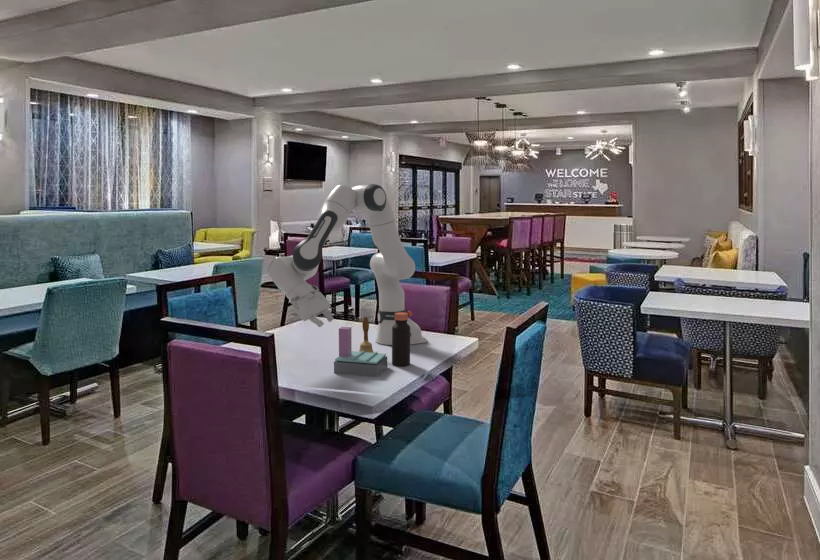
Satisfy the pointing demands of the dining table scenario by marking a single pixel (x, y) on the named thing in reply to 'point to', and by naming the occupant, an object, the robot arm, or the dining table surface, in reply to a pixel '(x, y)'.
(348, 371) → the tray
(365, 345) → the hand bell
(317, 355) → the dining table surface
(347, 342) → the lid
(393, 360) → the bottle
